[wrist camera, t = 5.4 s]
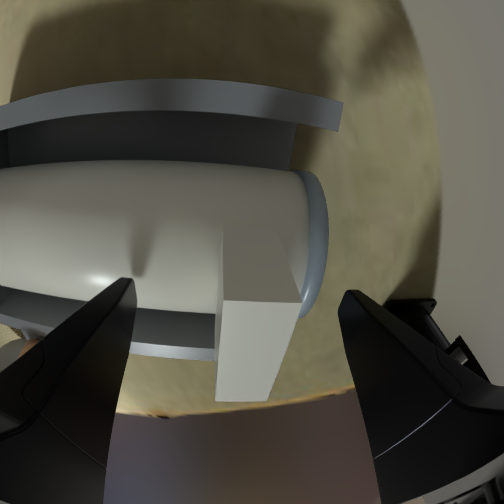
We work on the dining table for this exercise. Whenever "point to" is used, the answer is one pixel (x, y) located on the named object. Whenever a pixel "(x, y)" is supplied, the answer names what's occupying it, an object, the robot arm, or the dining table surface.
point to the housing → (152, 148)
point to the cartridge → (176, 248)
